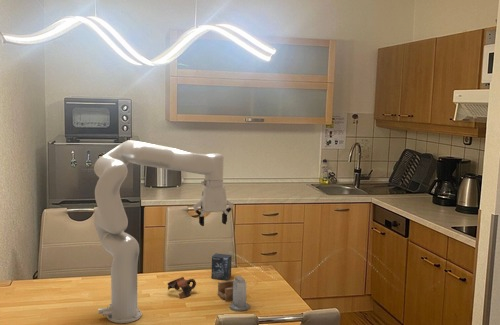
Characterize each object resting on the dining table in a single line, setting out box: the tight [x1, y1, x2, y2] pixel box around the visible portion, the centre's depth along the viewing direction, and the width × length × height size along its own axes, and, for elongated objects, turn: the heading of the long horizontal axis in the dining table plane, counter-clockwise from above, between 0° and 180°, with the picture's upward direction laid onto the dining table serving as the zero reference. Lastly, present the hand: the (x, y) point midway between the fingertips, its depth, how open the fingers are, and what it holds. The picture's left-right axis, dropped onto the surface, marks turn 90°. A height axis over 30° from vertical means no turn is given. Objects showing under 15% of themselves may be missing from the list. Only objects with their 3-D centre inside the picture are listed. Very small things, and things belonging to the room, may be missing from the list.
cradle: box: [217, 279, 234, 302], centre depth 219 cm, size 9×9×5 cm
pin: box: [232, 275, 247, 308], centre depth 207 cm, size 4×5×11 cm
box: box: [211, 252, 233, 281], centre depth 240 cm, size 8×6×11 cm
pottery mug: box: [167, 276, 197, 299], centre depth 221 cm, size 12×10×8 cm
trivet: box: [229, 301, 251, 312], centre depth 208 cm, size 8×8×1 cm
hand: (213, 224), depth 216 cm, fingers open, 9 cm apart
